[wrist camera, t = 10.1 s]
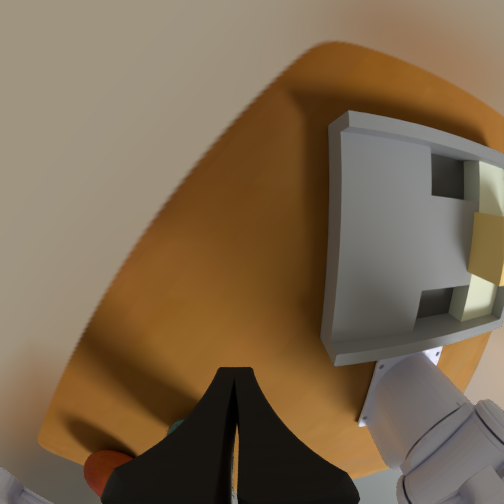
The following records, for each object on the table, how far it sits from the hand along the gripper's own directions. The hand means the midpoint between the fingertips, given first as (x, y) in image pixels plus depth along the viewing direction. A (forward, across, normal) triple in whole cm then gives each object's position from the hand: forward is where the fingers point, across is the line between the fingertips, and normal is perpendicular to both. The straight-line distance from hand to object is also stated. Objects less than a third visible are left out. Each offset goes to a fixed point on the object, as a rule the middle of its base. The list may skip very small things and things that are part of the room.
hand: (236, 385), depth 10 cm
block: (+7, -21, -5) cm, 23 cm away
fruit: (+10, +16, +24) cm, 30 cm away
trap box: (+9, -16, -4) cm, 19 cm away
